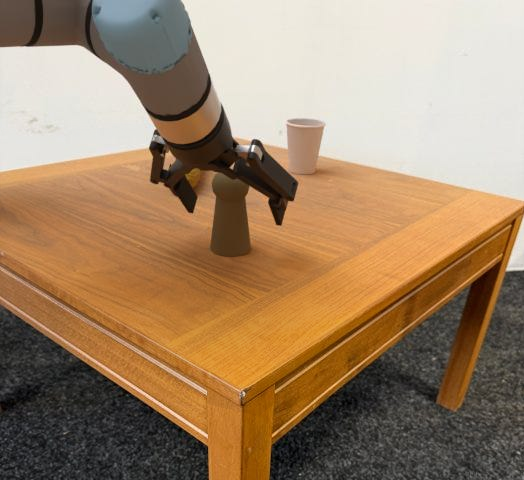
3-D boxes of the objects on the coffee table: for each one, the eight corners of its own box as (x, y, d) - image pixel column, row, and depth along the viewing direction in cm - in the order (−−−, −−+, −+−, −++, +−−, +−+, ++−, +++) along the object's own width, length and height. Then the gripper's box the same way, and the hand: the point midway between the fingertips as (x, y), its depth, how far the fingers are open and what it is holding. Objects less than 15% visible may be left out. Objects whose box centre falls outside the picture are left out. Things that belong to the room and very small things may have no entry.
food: (177, 167, 118) (175, 138, 115) (203, 167, 119) (202, 138, 115) (172, 196, 100) (170, 163, 97) (203, 197, 101) (202, 164, 98)
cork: (201, 249, 80) (199, 173, 74) (225, 237, 84) (225, 164, 78) (236, 259, 77) (236, 181, 71) (258, 246, 82) (261, 171, 76)
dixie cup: (302, 178, 114) (306, 127, 109) (274, 169, 119) (277, 120, 114) (329, 172, 119) (334, 123, 113) (301, 164, 124) (305, 116, 119)
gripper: (308, 95, 57) (325, 198, 77) (98, 78, 63) (165, 177, 83) (292, 159, 56) (314, 246, 76) (79, 135, 62) (151, 222, 82)
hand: (236, 210), depth 80 cm, fingers open, 13 cm apart
